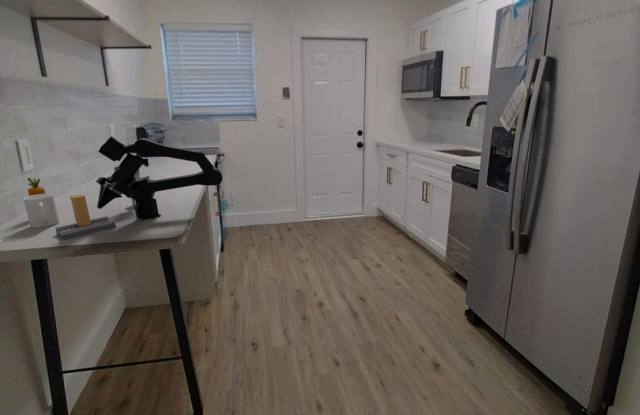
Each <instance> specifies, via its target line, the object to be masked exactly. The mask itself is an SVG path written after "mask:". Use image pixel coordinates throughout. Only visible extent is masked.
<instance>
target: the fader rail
mask: <svg viewBox="0 0 640 415" xmlns="http://www.w3.org/2000/svg"><path fill="white" fill-rule="evenodd" d="M90 221H91V223H92V225H85V226H83V227H79V228H78V227H76V225H75V224H76V222H73V223H70V224H69V223H68V224H62V225H60V226H56V227H55V233H56V235H57V236H58V237H59V238H61V239H62V240H63V241H65V240H70V239H74V238H78V237H82V236H86V235H90V234H95V233H98V232H102V231H107V230H110V229H115V228H117V225H116V222H115V219H109V218H108V215H105V216H101V217H95V218H93V219H92V218H90Z"/></svg>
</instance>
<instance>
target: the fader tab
mask: <svg viewBox="0 0 640 415" xmlns="http://www.w3.org/2000/svg"><path fill="white" fill-rule="evenodd" d="M69 197H70V201H71V207H72V210H73V214H74V219H75V223H76V224H75V225H76V227H78V228H79V227H83V226H85V225H92V223H91V221H90V220H91V218H90V213H89V209H88V204H87V199H86V196H85V195H83V194H80V193H79V194H74V195H70V196H69Z"/></svg>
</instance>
